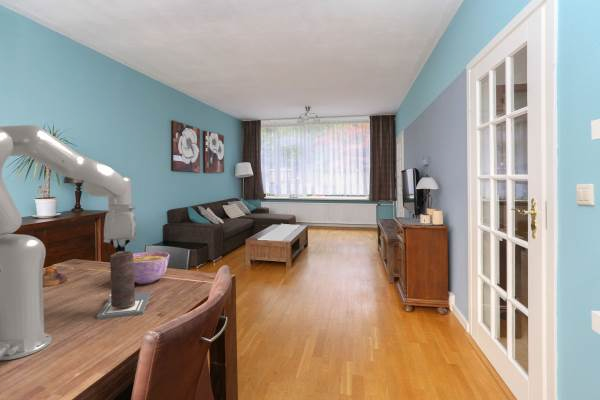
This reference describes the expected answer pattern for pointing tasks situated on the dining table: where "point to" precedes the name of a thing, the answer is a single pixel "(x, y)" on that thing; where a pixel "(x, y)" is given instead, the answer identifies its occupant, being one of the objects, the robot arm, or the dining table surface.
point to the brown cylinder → (122, 279)
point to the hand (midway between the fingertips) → (120, 256)
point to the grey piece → (137, 309)
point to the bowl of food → (149, 266)
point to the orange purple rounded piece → (52, 277)
